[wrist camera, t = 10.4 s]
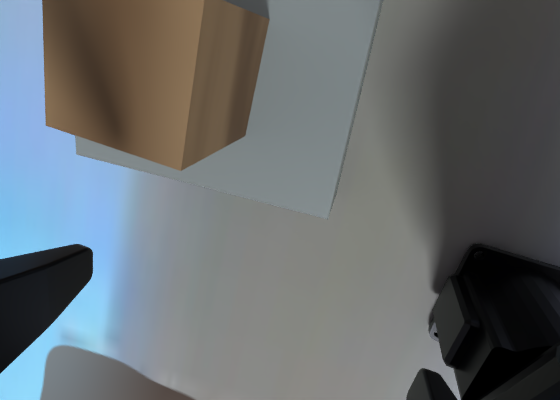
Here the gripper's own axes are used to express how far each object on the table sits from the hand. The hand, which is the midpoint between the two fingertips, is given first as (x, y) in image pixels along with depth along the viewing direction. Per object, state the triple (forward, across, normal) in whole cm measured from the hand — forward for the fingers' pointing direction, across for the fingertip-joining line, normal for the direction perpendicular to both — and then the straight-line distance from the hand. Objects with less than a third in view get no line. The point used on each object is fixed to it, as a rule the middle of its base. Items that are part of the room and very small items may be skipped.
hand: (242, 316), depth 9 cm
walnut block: (+9, +6, -5) cm, 11 cm away
